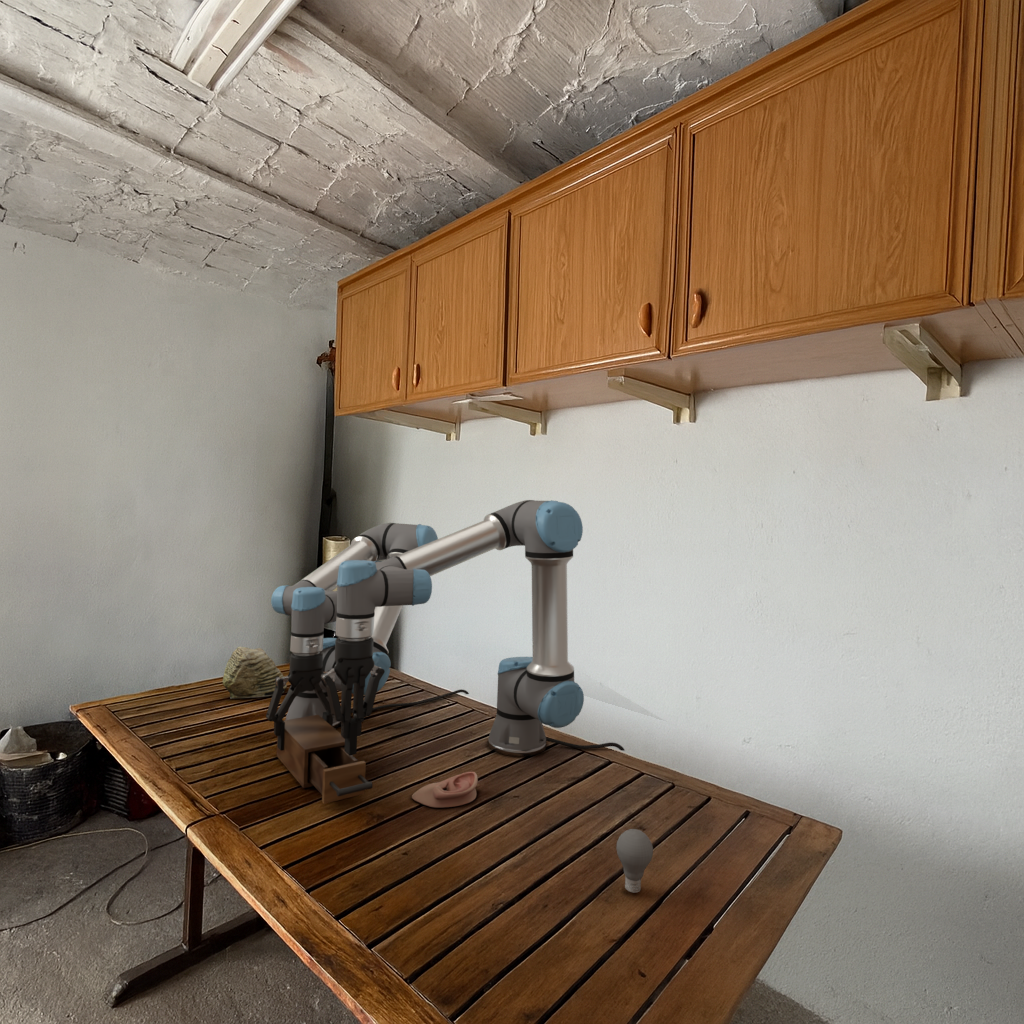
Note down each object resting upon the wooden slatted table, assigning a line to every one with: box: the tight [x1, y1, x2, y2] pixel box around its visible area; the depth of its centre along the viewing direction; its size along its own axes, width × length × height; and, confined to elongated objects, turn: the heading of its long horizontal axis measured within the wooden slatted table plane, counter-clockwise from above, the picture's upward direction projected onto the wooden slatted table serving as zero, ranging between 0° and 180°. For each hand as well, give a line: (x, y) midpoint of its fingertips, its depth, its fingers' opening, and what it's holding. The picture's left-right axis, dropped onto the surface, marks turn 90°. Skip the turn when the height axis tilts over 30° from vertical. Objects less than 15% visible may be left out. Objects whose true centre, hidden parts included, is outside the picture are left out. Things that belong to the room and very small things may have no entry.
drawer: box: [308, 746, 374, 805], centre depth 136 cm, size 25×9×7 cm, turn 36°
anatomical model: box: [411, 771, 479, 809], centre depth 136 cm, size 13×4×12 cm
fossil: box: [222, 646, 288, 699], centre depth 198 cm, size 9×18×15 cm, turn 132°
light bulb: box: [615, 828, 654, 894], centre depth 106 cm, size 6×6×10 cm
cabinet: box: [276, 715, 345, 789], centre depth 148 cm, size 20×10×8 cm, turn 36°
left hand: (303, 744), depth 153 cm, fingers closed on cabinet, 10 cm apart
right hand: (350, 752), depth 129 cm, fingers closed
